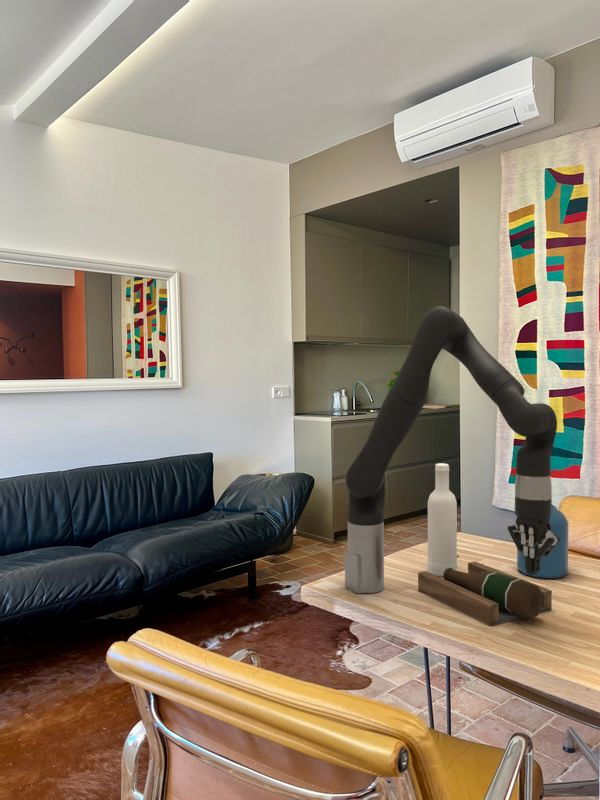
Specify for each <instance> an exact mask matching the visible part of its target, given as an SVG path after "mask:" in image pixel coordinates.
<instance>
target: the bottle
mask: <svg viewBox="0 0 600 800" xmlns="http://www.w3.org/2000/svg"><path fill="white" fill-rule="evenodd" d="M434 467H435V468H434V473H435V480H434V481H435V483H434V484H435V487H434V490H433V491H432V492H431V493H430V495H429V496H428V497H429V498H428V500H427V572H429V573H431V574H434V575H436V576H438V577H443V573H444V571H445V569H448V568H452V569H453V570H456V571H458V569H457V568H458V558H457V555H458V551H457V550H458V544H457V542H458V539H457V538H458V526H457V525H458V523H457V522H458V517H457V515H458V513H457V512H458V511H457V510H458V502H457V499H456V496H455V494H454V493H453V492H452V491H451V490H450V465H449V464H448V463H441V462H440V463H435V466H434Z"/></svg>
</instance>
